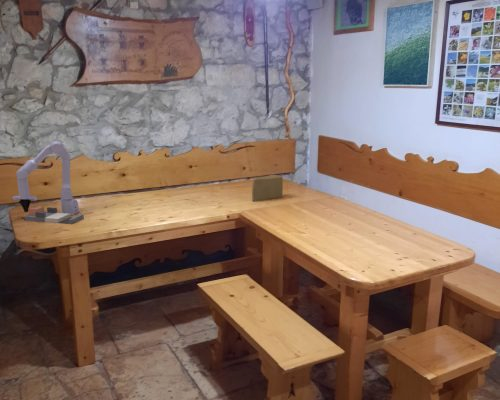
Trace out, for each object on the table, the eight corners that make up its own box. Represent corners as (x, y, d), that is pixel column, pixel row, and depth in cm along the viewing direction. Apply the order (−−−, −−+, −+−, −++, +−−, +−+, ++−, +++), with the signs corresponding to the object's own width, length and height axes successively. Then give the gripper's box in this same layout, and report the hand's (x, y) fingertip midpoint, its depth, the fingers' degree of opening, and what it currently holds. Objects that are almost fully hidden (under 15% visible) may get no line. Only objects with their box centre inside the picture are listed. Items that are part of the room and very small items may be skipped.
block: (44, 213, 300) (43, 206, 299) (37, 215, 294) (36, 209, 293) (35, 212, 301) (35, 206, 300) (29, 215, 296) (28, 208, 295)
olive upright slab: (257, 203, 325) (257, 180, 321) (248, 200, 333) (247, 178, 329) (283, 197, 338) (283, 175, 334) (274, 195, 345) (273, 173, 342)
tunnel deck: (83, 218, 296) (82, 209, 294) (71, 224, 285) (70, 214, 284) (38, 215, 305) (36, 206, 303) (24, 220, 294) (23, 211, 293)
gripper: (38, 188, 299) (41, 210, 302) (16, 187, 301) (19, 209, 304) (32, 190, 292) (34, 213, 295) (9, 190, 294) (12, 212, 297)
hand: (26, 211), depth 299 cm, fingers closed
